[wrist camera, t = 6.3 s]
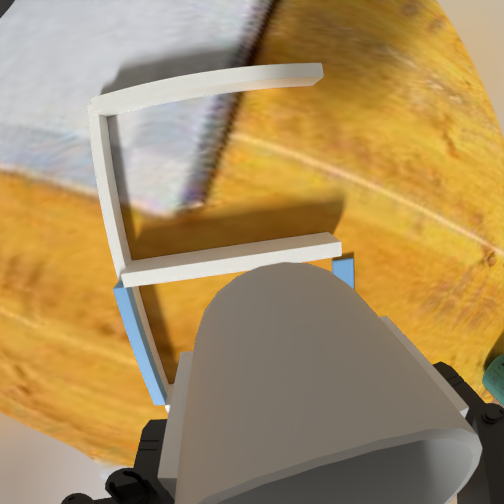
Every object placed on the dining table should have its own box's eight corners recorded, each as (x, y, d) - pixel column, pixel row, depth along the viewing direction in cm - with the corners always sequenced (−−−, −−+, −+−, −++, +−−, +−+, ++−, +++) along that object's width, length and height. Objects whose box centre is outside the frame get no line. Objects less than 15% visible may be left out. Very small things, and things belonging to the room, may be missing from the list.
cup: (281, 219, 12) (402, 358, 3) (415, 352, 14) (513, 473, 6) (163, 343, 13) (113, 533, 4) (314, 437, 15) (355, 572, 7)
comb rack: (94, 107, 23) (78, 102, 20) (333, 73, 24) (347, 63, 21) (162, 392, 32) (157, 413, 29) (350, 364, 33) (360, 383, 30)
